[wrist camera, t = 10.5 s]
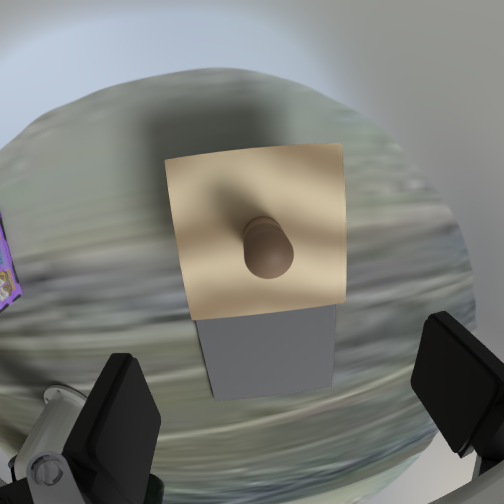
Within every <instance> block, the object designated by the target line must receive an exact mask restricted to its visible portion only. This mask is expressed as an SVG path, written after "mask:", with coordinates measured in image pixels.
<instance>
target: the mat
mask: <svg viewBox="0 0 504 504" xmlns="http://www.w3.org/2000/svg"><path fill="white" fill-rule="evenodd" d="M196 324H197V328H198V333H199V337H200V342H201V346H202V350H203V355H204V359H205V363H206V367H207V371H208V375H209V379H210V383H211V387H212V390H213V394H214V398H215V401H218V400H234V399H246V398H257V397H266V396H275V395H283V394H290V393H297V392H303V391H310V390H316V389H321V388H327V387H332V376H333V363H334V347H335V328H336V304H332V305H326V306H319V307H312V308H304V309H297V310H289V311H281V312H273V313H264V314H255V315H246V316H236V317H226V318H215V319H203V320H196Z"/></svg>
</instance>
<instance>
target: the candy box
mask: <svg viewBox="0 0 504 504" xmlns="http://www.w3.org/2000/svg"><path fill="white" fill-rule="evenodd" d="M22 294H23V293H22V290H21V287H20V284H19V281H18V279H17V275H16V272H15V269H14V266H13V263H12V259H11V255H10V252H9V248H8V245H7V241H6V237H5V232H4V229H3V224H2V219H1V214H0V313H1V312H2V311H4V310H5V309H6V308H7V307H8V306H10V305H11V304H12V303H13V302H14V301H16V300H17V299H18V298H20V297H22V296H23V295H22Z"/></svg>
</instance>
